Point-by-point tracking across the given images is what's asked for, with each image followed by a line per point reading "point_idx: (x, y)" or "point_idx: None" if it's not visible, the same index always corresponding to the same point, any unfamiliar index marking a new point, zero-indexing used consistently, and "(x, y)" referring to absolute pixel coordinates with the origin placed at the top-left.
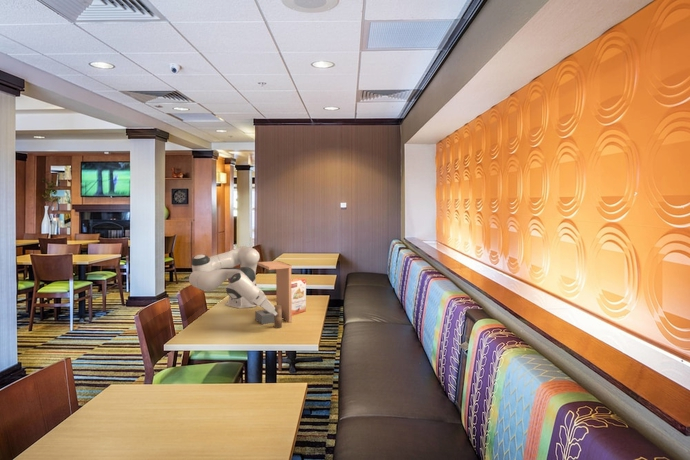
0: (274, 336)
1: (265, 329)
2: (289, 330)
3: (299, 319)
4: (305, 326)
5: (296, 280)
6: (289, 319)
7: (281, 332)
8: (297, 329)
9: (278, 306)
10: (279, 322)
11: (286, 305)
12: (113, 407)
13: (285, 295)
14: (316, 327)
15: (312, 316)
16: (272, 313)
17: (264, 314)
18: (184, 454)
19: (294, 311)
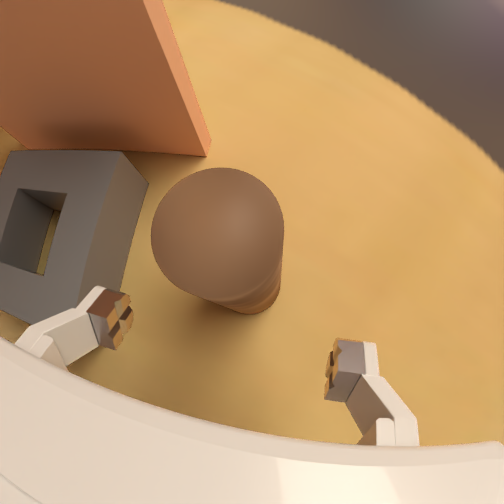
0: (425, 414)
1: (234, 393)
2: (380, 257)
3: (195, 81)
4: (358, 124)
5: None
6: (202, 142)
7: (386, 332)
8: (391, 199)
9: (268, 245)
10: (280, 280)
11: (112, 78)
12: None
13: (50, 17)
14: (408, 98)
15: (203, 23)
16: (73, 223)
17: (52, 297)
18: None
19: None
